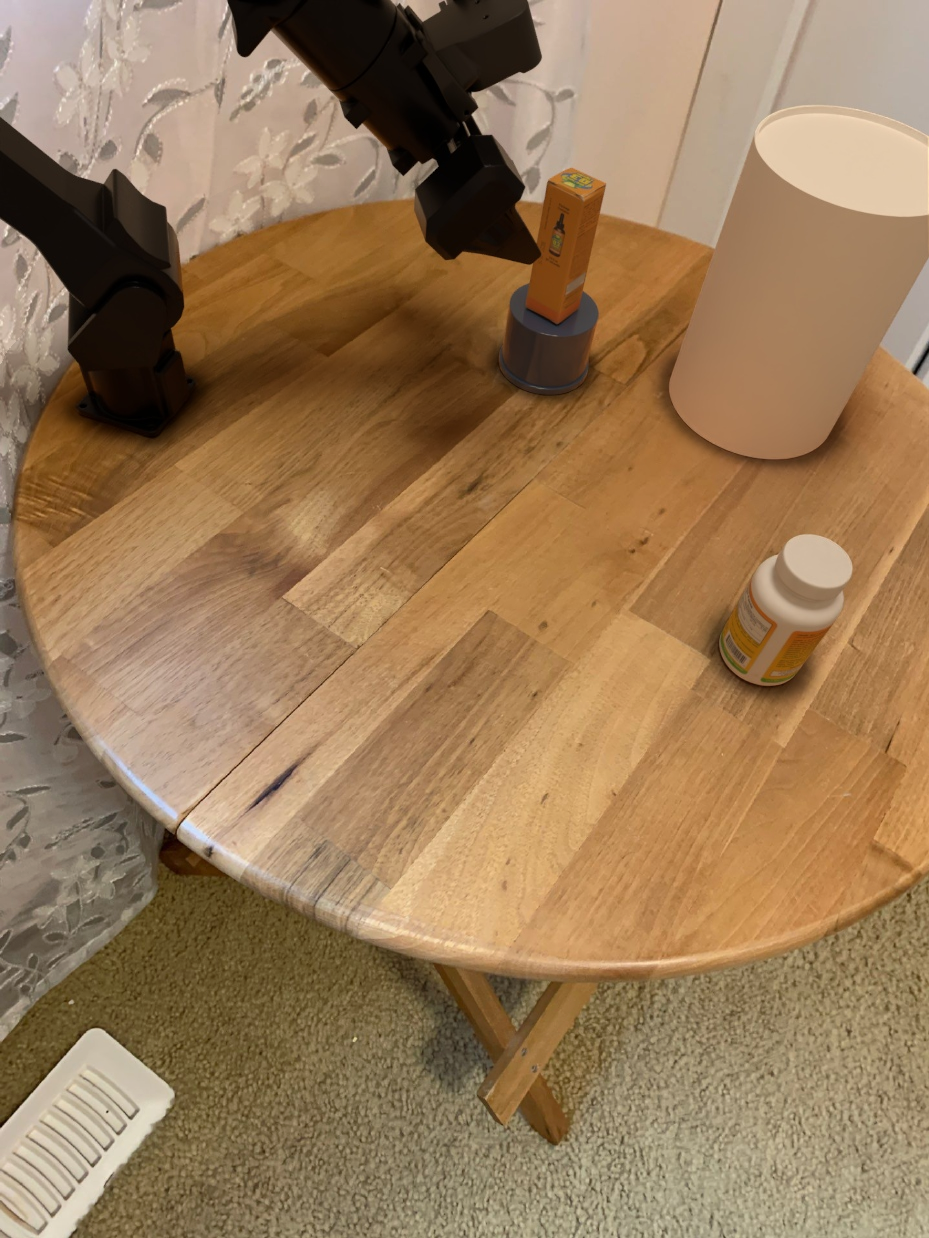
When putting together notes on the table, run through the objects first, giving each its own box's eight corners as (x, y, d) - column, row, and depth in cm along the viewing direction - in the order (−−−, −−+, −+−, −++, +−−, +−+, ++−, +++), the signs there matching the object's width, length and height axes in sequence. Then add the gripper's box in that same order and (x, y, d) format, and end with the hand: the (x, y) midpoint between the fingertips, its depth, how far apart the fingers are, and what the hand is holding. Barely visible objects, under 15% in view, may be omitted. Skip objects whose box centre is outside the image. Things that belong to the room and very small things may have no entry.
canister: (669, 336, 77) (749, 92, 61) (824, 361, 77) (946, 123, 60) (668, 443, 69) (760, 196, 53) (841, 471, 69) (986, 232, 53)
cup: (574, 405, 71) (588, 348, 66) (486, 379, 72) (494, 321, 67) (599, 343, 76) (614, 286, 71) (517, 320, 76) (526, 262, 72)
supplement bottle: (806, 639, 59) (873, 545, 51) (788, 701, 56) (857, 612, 48) (728, 607, 60) (783, 511, 52) (707, 667, 57) (761, 574, 49)
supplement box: (582, 308, 69) (611, 182, 61) (556, 327, 67) (582, 200, 59) (548, 289, 70) (572, 163, 62) (522, 307, 68) (542, 180, 60)
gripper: (511, 3, 42) (662, 214, 53) (429, -132, 52) (570, 69, 64) (348, 172, 47) (518, 333, 58) (302, 18, 57) (454, 180, 68)
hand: (517, 220), depth 62 cm, fingers open, 9 cm apart
